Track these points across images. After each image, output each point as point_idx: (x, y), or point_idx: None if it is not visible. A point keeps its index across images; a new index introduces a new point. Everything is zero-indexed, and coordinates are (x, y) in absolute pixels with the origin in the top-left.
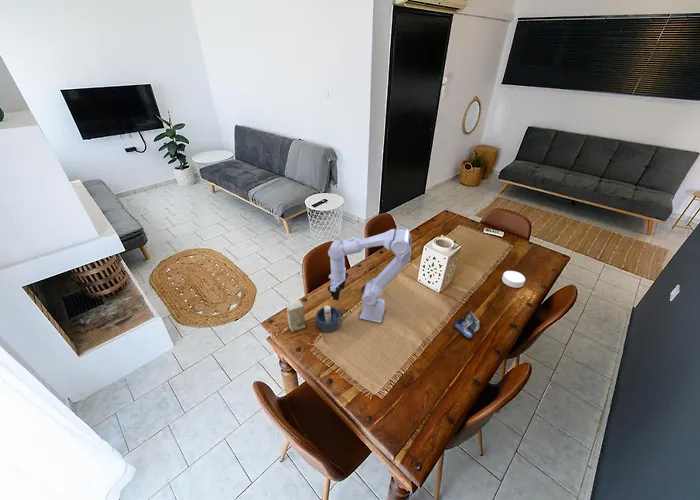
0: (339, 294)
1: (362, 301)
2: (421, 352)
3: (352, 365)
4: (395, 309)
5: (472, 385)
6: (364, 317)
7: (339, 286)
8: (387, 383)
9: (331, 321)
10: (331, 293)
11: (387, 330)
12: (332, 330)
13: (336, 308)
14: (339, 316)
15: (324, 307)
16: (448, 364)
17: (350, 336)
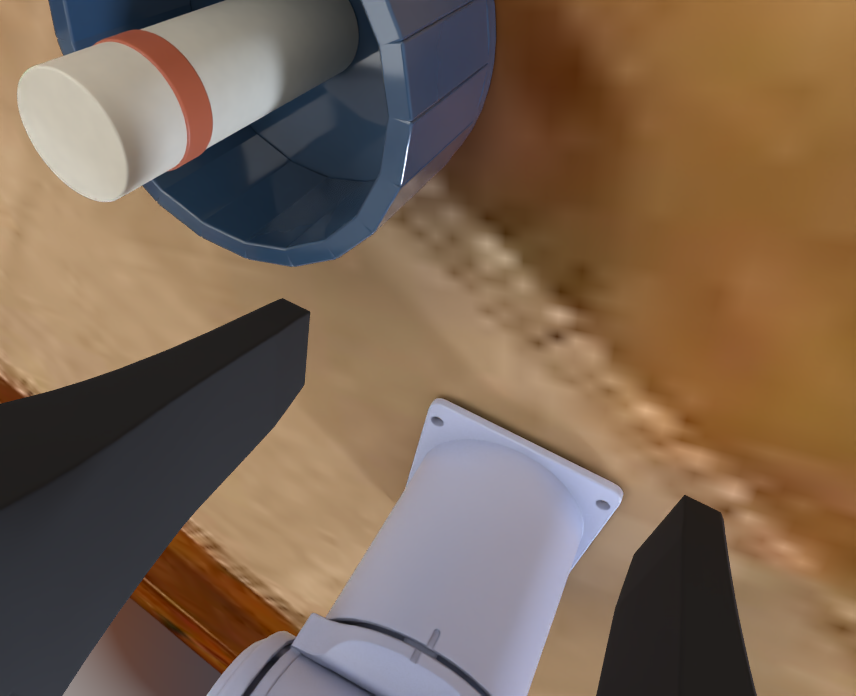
0: (189, 513)
1: (418, 596)
2: (234, 574)
3: (10, 232)
4: (556, 651)
5: (158, 613)
6: (440, 441)
7: (665, 554)
8: (23, 381)
9: (338, 77)
10: (43, 408)
11: (340, 519)
12: None
13: (374, 231)
14: (234, 252)
15: (46, 75)
16: (210, 612)
17: (220, 264)
